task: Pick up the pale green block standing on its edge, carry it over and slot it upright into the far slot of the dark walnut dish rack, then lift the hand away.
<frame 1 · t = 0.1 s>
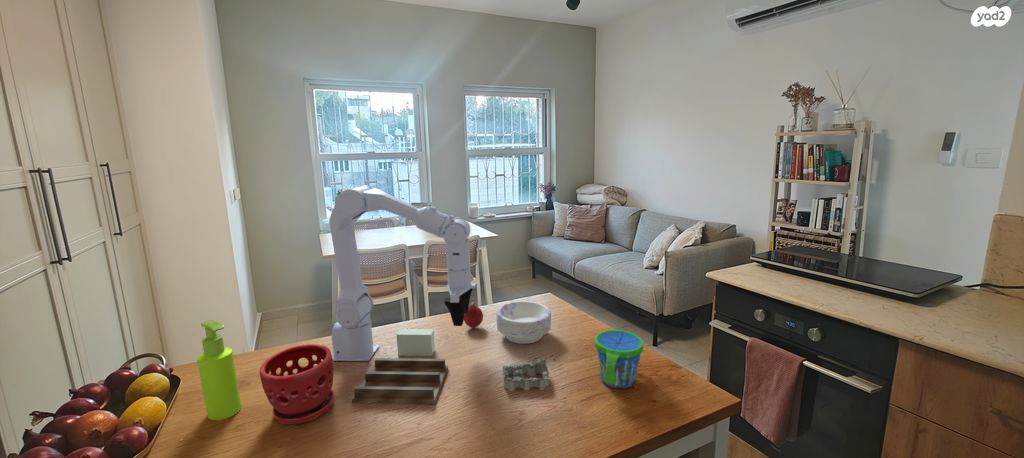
hand: (460, 318, 108), 10 cm above the counter, tool pointing down, fingers open, 7 cm apart
paper bowls: (523, 337, 120), on the counter
plant pot: (303, 411, 88), on the counter
egg carton: (525, 383, 98), on the counter
pale green block: (416, 353, 112), on the counter
snack cup: (617, 381, 97), on the counter
soap dispenser: (226, 413, 88), on the counter
onion: (473, 329, 126), on the counter
rack: (403, 384, 97), on the counter
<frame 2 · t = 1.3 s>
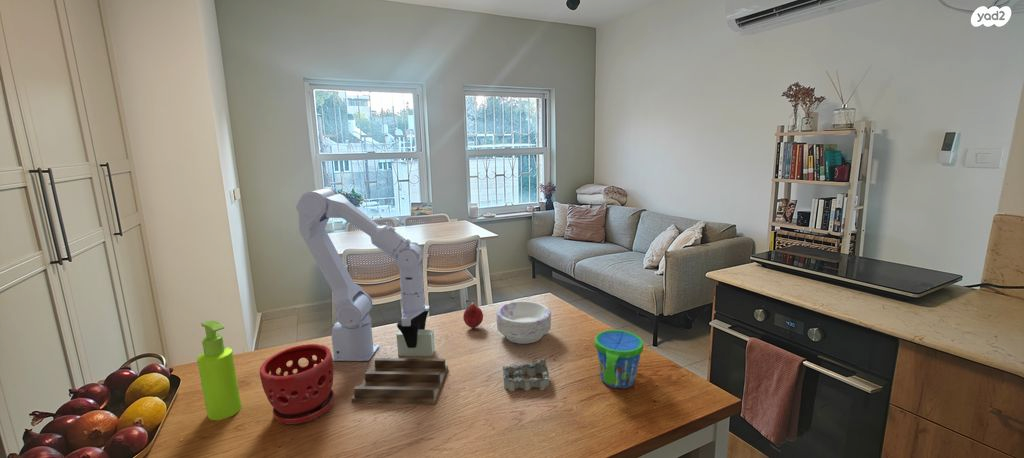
hand: (416, 340, 111), 4 cm above the counter, tool pointing down, fingers open, 7 cm apart
nothing on the counter moved.
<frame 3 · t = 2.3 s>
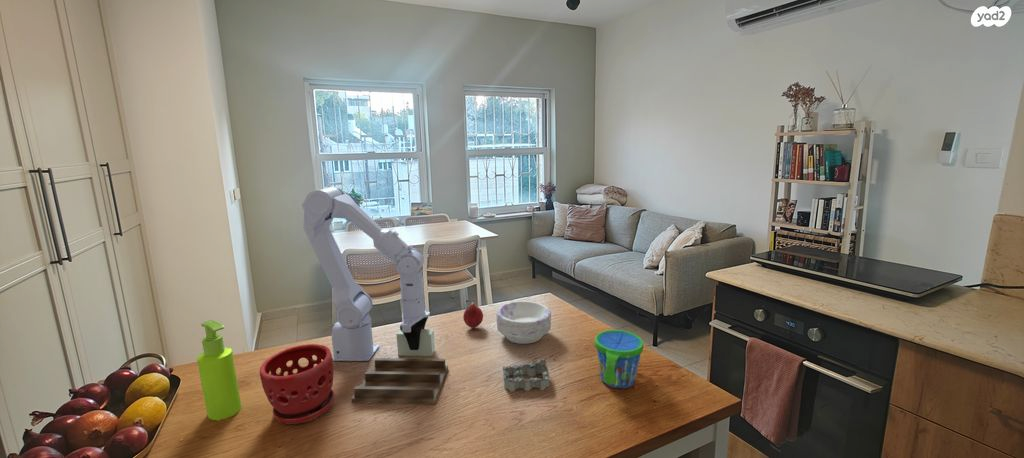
hand: (416, 346, 112), 2 cm above the counter, tool pointing down, fingers closed on pale green block, 3 cm apart
pale green block: (416, 352, 112), on the counter, touching gripper
everything else where it was.
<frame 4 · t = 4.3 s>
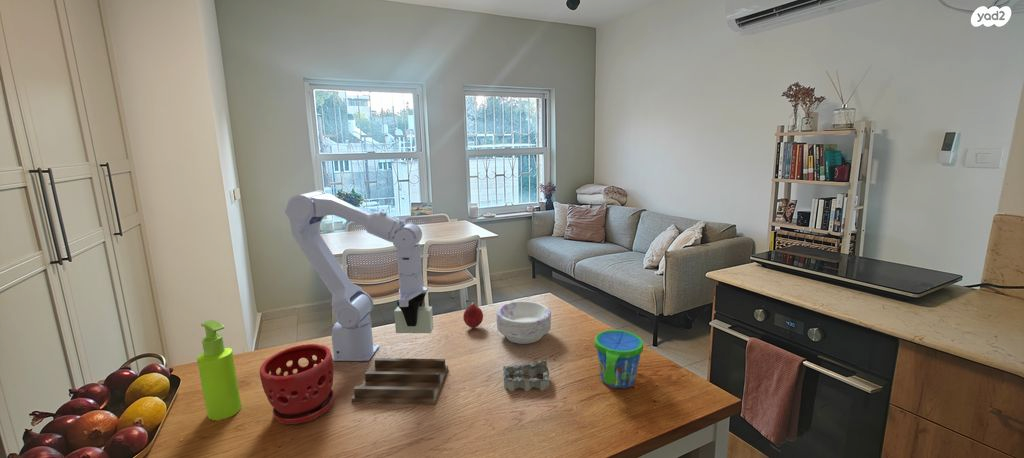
hand: (413, 322, 109), 9 cm above the counter, tool pointing down, fingers closed on pale green block, 3 cm apart
pale green block: (414, 330, 110), point 7 cm above the counter, touching gripper
everything else where it was.
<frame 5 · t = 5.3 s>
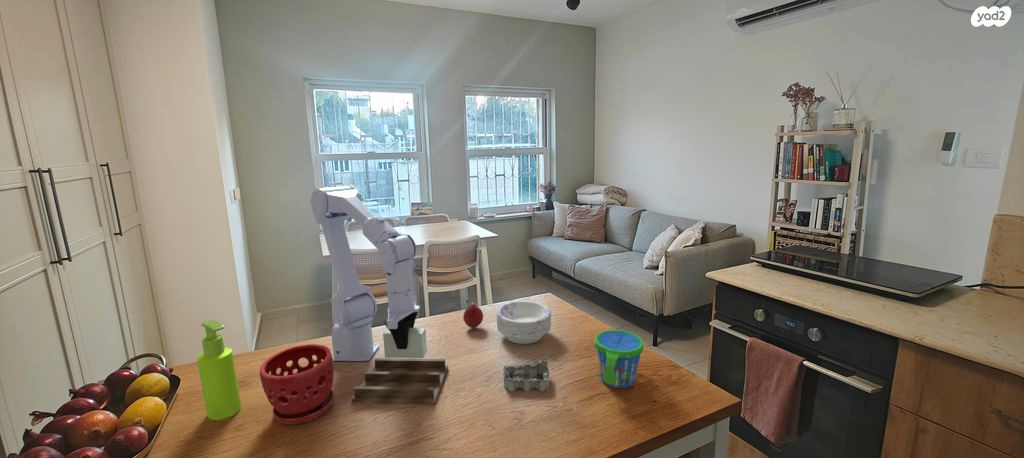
hand: (404, 344, 98), 8 cm above the counter, tool pointing down, fingers closed on pale green block, 3 cm apart
pale green block: (406, 354, 99), point 6 cm above the counter, touching gripper
everything else where it was.
when the fingers open (4 cm above the counter, at t = 6.3 s): pale green block stays where it is, resting on rack.
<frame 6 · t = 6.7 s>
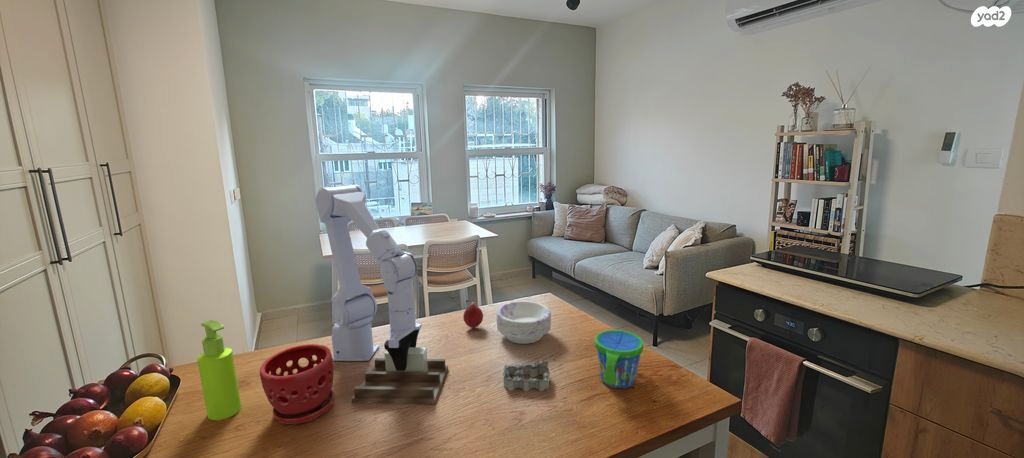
hand: (405, 361, 99), 4 cm above the counter, tool pointing down, fingers open, 6 cm apart
pale green block: (407, 373, 100), point 1 cm above the counter, touching rack
everything else where it was.
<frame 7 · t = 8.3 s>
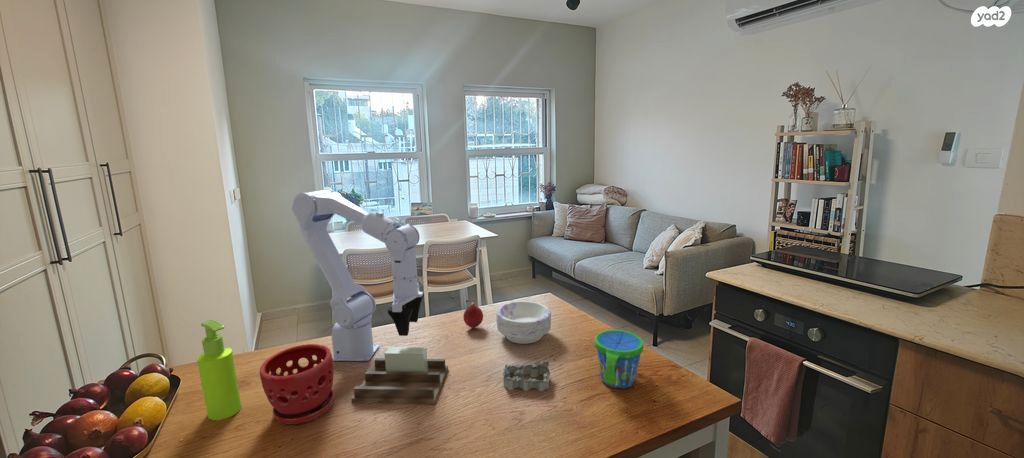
hand: (408, 328, 105), 9 cm above the counter, tool pointing down, fingers open, 7 cm apart
nothing on the counter moved.
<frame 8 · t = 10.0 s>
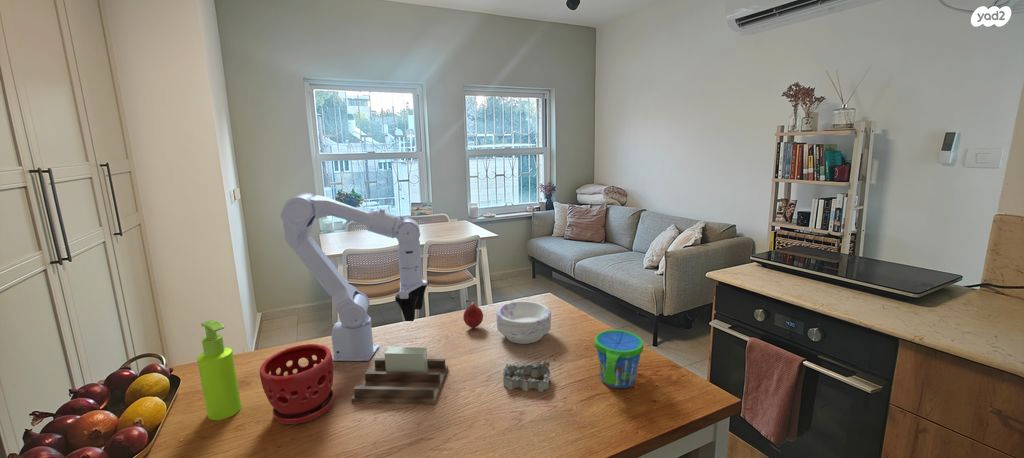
hand: (413, 314, 113), 9 cm above the counter, tool pointing down, fingers open, 7 cm apart
nothing on the counter moved.
at the end: pale green block inside the target area on the rack (0.2 cm from its centre), point 1.0 cm above the rack's base; pale green block tilted 0°; the gripper is holding nothing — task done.
